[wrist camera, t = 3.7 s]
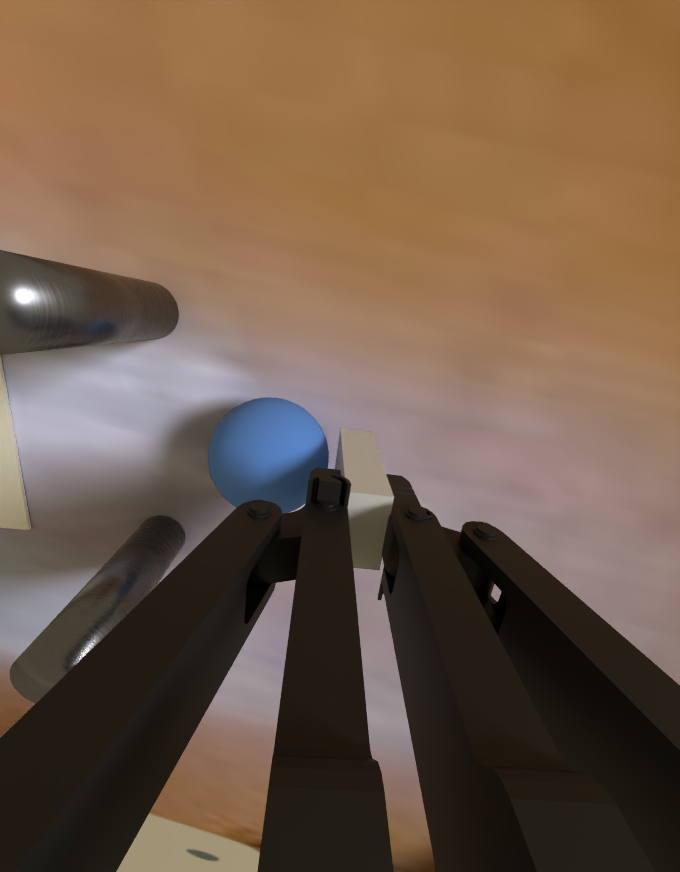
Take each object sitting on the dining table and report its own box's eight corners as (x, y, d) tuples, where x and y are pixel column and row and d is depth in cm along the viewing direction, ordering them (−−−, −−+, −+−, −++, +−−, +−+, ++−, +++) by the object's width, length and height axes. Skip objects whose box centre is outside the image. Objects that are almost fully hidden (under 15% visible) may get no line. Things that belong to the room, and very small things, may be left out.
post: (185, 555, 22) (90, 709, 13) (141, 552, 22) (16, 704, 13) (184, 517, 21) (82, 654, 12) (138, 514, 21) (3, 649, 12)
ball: (204, 545, 14) (203, 478, 19) (331, 538, 17) (302, 479, 21) (215, 416, 13) (211, 377, 17) (357, 427, 15) (319, 390, 19)
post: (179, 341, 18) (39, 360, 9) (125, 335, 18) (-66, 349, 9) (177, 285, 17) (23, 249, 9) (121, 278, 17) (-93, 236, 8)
